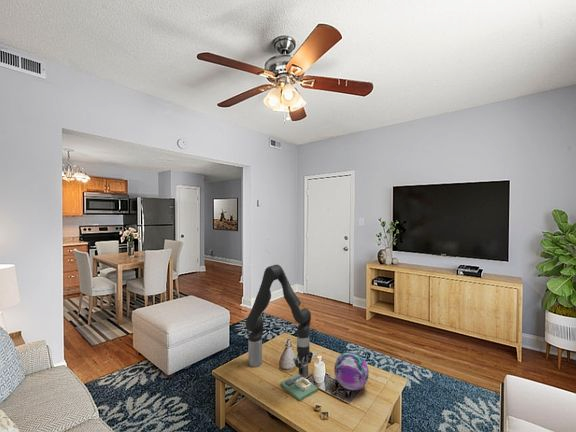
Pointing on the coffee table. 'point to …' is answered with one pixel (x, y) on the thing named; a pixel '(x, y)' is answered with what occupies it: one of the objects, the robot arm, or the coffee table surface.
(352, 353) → the decorative sphere
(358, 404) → the coffee table surface
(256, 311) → the robot arm
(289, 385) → the header board
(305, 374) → the plug
